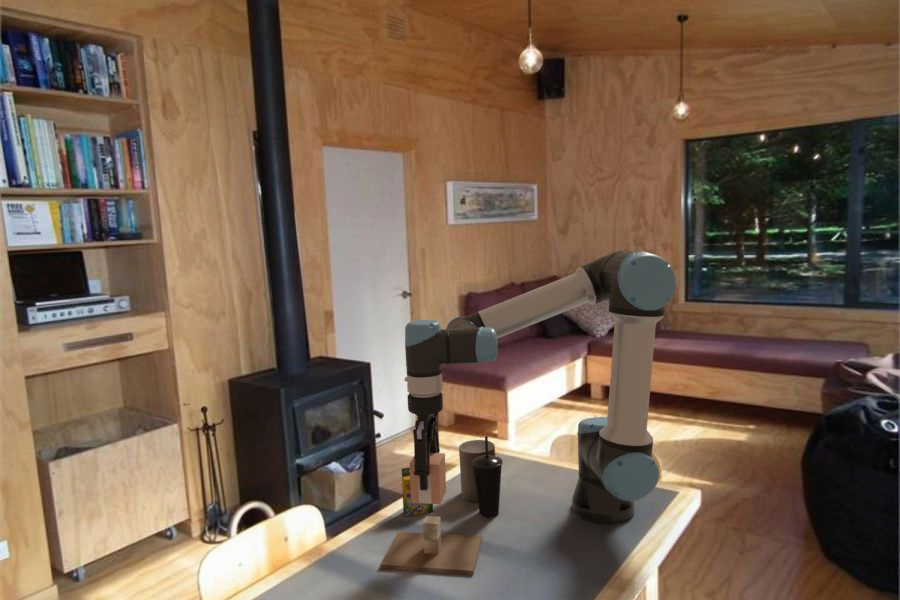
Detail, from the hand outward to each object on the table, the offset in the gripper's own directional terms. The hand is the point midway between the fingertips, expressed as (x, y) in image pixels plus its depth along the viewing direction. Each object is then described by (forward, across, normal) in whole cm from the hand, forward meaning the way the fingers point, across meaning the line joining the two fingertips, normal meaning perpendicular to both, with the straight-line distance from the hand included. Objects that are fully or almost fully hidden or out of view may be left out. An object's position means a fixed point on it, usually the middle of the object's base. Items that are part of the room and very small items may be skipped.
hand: (429, 495), depth 133 cm
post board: (+14, 0, 0) cm, 14 cm away
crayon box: (+14, -19, -8) cm, 25 cm away
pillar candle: (+14, -30, +6) cm, 34 cm away
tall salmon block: (0, 0, 0) cm, 0 cm away
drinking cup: (+14, -20, +10) cm, 27 cm away
